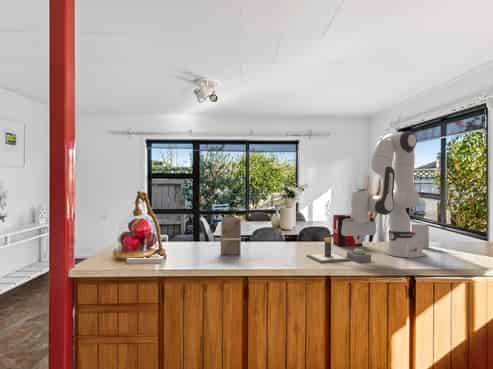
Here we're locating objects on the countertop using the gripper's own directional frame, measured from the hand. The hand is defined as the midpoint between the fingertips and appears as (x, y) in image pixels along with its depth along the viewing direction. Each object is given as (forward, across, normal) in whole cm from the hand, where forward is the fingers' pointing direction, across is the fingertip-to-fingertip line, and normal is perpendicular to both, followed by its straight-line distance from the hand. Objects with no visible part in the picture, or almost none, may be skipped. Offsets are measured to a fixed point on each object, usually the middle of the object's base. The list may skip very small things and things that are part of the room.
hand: (358, 243), depth 189 cm
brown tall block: (+11, -64, +32) cm, 72 cm away
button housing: (+9, +1, 0) cm, 9 cm away
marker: (+8, -14, +7) cm, 18 cm away
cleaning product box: (+9, +19, +38) cm, 43 cm away
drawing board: (+9, -14, +7) cm, 19 cm away
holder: (+12, -107, +48) cm, 117 cm away
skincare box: (+8, +61, +18) cm, 64 cm away
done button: (+6, +1, 0) cm, 6 cm away
